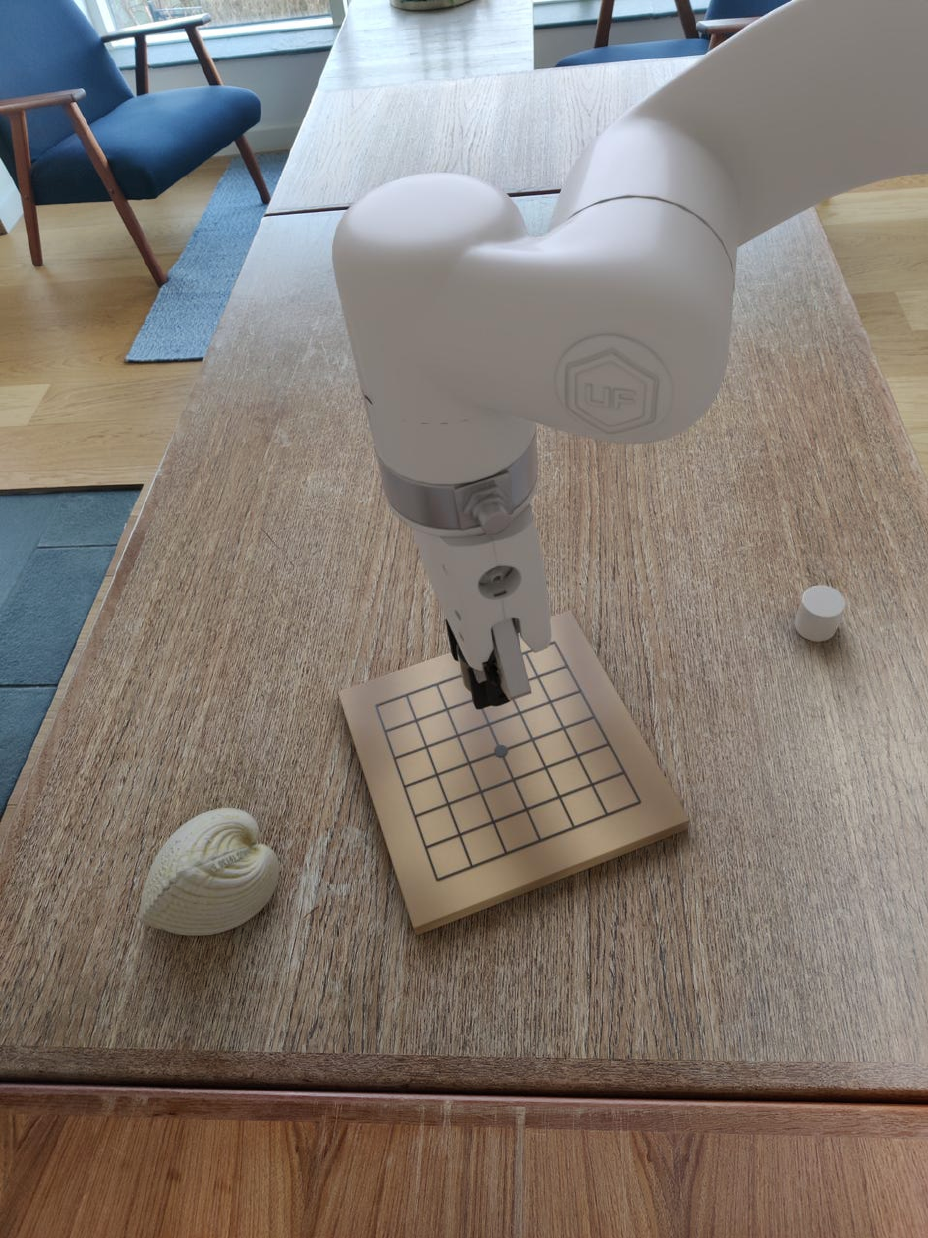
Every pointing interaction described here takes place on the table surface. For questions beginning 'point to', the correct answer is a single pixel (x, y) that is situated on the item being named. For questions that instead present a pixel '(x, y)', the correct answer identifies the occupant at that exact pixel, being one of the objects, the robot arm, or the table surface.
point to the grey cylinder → (819, 613)
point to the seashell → (209, 875)
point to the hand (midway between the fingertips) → (486, 673)
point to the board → (505, 778)
